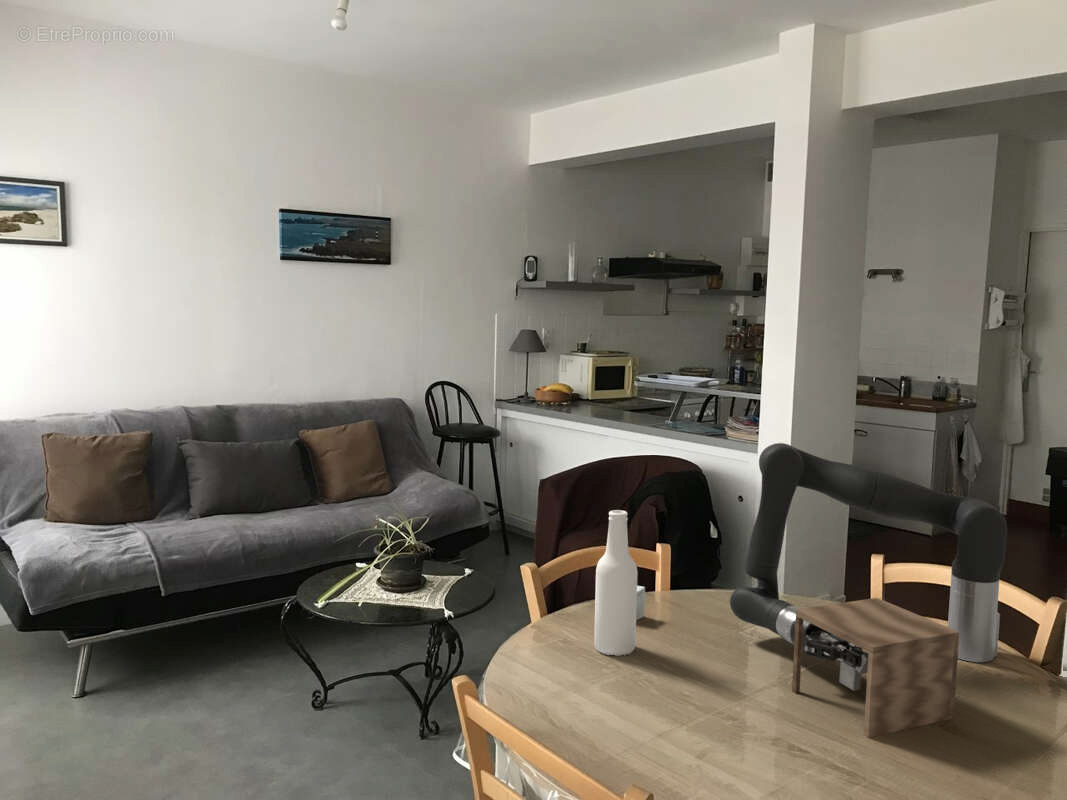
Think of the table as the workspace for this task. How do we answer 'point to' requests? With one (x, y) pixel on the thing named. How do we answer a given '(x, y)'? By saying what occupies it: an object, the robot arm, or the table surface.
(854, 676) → the lighter
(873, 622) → the open side box
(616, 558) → the alcohol
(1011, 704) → the table surface
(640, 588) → the product box
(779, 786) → the table surface
